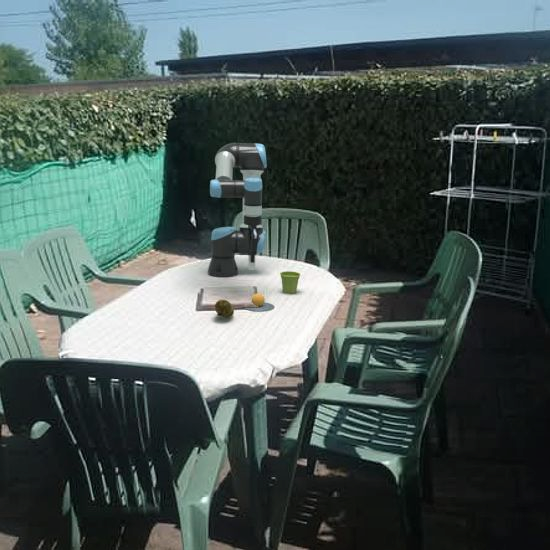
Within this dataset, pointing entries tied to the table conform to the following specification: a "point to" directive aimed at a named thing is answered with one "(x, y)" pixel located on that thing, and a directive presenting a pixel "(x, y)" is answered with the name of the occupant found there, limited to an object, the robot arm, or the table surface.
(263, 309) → the disc
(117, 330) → the table surface
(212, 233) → the robot arm
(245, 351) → the table surface
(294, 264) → the table surface
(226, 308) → the potato
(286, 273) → the plant pot
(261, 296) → the ball
